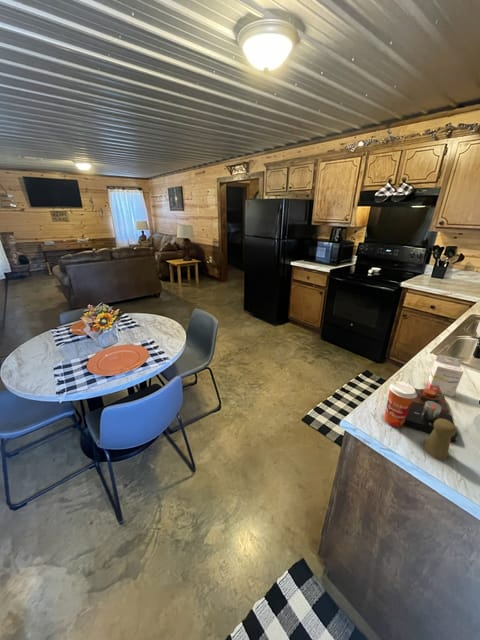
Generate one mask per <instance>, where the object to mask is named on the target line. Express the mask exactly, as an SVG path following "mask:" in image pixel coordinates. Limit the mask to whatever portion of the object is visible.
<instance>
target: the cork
mask: <svg viewBox="0 0 480 640" xmlns="http://www.w3.org/2000/svg"><path fill="white" fill-rule="evenodd" d="M433 426H434V430H433V431H432V433H431V434H429V436H428V437H427V439H426V441H425V442H424V444H423V450H424V451H425V453H426V454H428V455H429V456H431V457H432V458H435V459H437V460H441V461H442V460H446V459H448V455H449V450H450V444H451V441H450V440H451V436H453V435H454V434H455V433H456V431H457V427H456V425H455V423H454V424H453V423H452V422H450V421H448V420H446V419H437V420H435V422H434V424H433Z"/></svg>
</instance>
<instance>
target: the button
mask: <svg viewBox="0 0 480 640" xmlns="http://www.w3.org/2000/svg"><path fill="white" fill-rule="evenodd" d="M423 389H424V391H423V395H425V396H427V397H430V398H434V396H435V393H436V392H434V391H433V390H431V389H428V387H427V388H423Z"/></svg>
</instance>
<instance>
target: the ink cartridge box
mask: <svg viewBox="0 0 480 640" xmlns="http://www.w3.org/2000/svg"><path fill="white" fill-rule="evenodd" d="M462 362H463V359H462V358H457V357H452V356H446V355H442V354H438V355H437V356H436V359H435V361H433V365H432V367H431V371H430V374H429V376H428V379H427V382H426V387H427V389H431V390H433V391H434V392H435V393H436V394H440V395H444V396H450V397H454V396H455V394H456V391H457V389H458V386H459V384H460V381H461V379H462V376H463V374H464V370H463V368H462V367H461V364H462Z"/></svg>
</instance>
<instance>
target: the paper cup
mask: <svg viewBox="0 0 480 640" xmlns="http://www.w3.org/2000/svg"><path fill="white" fill-rule="evenodd" d="M414 388H415V387H414V386H412V385H411V384H409V383H407V382H405V381H404V382H403V381H394V382H393V383H392V384H389V392H388V397H387V402H386V406H385V413H384V421H385V422H386V423H387V424H388V425H389V426H392V427H395V428H400V427H402V426H404V420H405V418H406V416H407V413H408V411H409V409H410V406H411V404H412V402H413V399H414V398H416V396H417V394H416V392H415V389H414Z"/></svg>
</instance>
